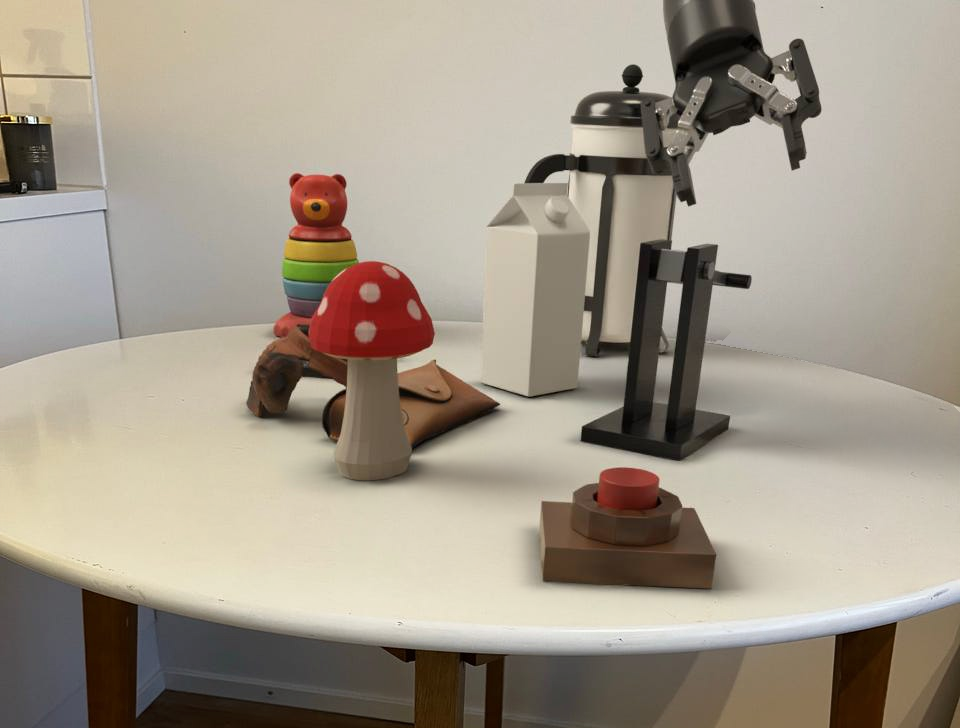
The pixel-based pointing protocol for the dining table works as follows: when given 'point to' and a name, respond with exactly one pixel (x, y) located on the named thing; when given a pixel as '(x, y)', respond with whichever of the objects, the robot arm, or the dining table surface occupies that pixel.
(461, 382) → the sunglasses case
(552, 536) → the button block
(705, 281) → the lever stand
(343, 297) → the decorative mushroom
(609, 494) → the red button
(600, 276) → the coffee press
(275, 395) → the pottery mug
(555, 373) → the milk carton
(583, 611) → the dining table surface
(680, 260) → the stand lever
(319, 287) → the stacking bear
